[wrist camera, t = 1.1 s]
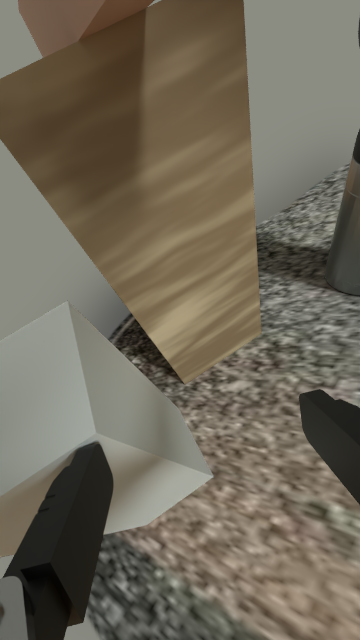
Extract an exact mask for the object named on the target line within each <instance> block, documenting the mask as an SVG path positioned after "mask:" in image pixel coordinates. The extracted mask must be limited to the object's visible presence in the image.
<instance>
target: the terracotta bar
mask: <svg viewBox="0 0 360 640" xmlns="http://www.w3.org/2000/svg"><path fill="white" fill-rule="evenodd" d="M153 1H154V0H18V4H19V12H20V14H21V16H22V17H23V19H24V21H25V23H26V25H27V27H28V29H29V31H30V33H31V35H32V37H33V39H34V41H35V43H36V45H37V47H38V49H39V50H40V52H41V54H42V56H43V58H44V57H46V56H48V55H50V54H52V53H55V52H57V51H59V50H61V49H63V48H65V47H67V46H69V45H71V44H73V43H75V42H77V41H79V40H81V39H83V38H85V37H87V36H89V35H92V34H94V33H96V32H98V31H100V30H102V29H104V28H106V27H108V26H110V25H112V24H114V23H116V22H118V21H120V20H122V19H124V18H126V17H129V16H131V15H133V14H135V13H137V12H139V11H141V10H143V9H145V8H147V7H148V6H149V5H150V4H151V3H152V2H153Z"/></svg>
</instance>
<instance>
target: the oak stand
mask: <svg viewBox="0 0 360 640" xmlns="http://www.w3.org/2000/svg"><path fill="white" fill-rule="evenodd" d="M248 95H249V94H248V76H247V58H246V39H245V21H244V2H243V0H161V1H159V2H157V3H155V4H153V5H151V6H149V7H147V8H145V9H143V10H141V11H139V12H137V13H135V14H133V15H131V16H129V17H126V18H124V19H122V20H120V21H118V22H116V23H114V24H112V25H110V26H108V27H106V28H104V29H102V30H100V31H98V32H96V33H94V34H92V35H89V36H87V37H85V38H83V39H81V40H79V41H77V42H75V43H73V44H71V45H69V46H67V47H65V48H63V49H61V50H59V51H57V52H55V53H52V54H50V55H48V56H46V57H44V58H42V59H40V60H38V61H36V62H34V63H32V64H30V65H28V66H26V67H24V68H22V69H20V70H18V71H15V72H14V73H12V74H9V75H7V76H5V77H3V78H1V79H0V139H1V140H2V142H3V143H4V144H5V146H6V147H7V148H8V150H9V151H10V152H11V154H12V155H13V156H14V158H15V159H16V160H17V162H18V163H19V164H20V166H21V167H22V168H23V170H24V171H25V172H26V174H27V175H28V176H29V178H30V179H31V180H32V182H33V183H34V184H35V185H36V187H37V188H38V189H39V191H40V192H41V194H42V195H43V196H44V198H45V199H46V200H47V202H48V203H49V204H50V205H51V207H52V208H53V210H54V211H55V212H56V213H57V215H58V216H59V218H60V219H61V220H62V222H63V223H64V224H65V226H66V227H67V228H68V229H69V231H70V232H71V233H72V235H73V236H74V237H75V239H76V240H77V241H78V243H79V244H80V245H81V247H82V248H83V249H84V251H85V252H86V253H87V255H88V256H89V257H90V259H91V260H92V261H93V263H94V264H95V265H96V267H97V268H98V269H99V271H100V272H101V273H102V274H103V276H104V277H105V279H106V280H107V281H108V283H109V284H110V285H111V287H112V288H113V289H114V290H115V292H116V293H117V295H118V296H119V297H120V299H121V300H122V301H123V302H124V304H125V305H126V306H127V308H128V309H129V311H130V312H131V313H132V315H133V316H134V317H135V319H136V320H137V321H138V323H139V324H140V325H141V327H142V328H143V329H144V331H145V332H146V333H147V335H148V336H149V337H150V339H151V340H152V341H153V342H154V344H155V345H156V346H157V348H158V349H159V350H160V352H161V353H162V354H163V356H164V357H165V358H166V360H167V361H168V362H169V364H170V365H171V366H172V368H173V369H174V370H175V372H176V373H177V374H178V376H179V377H180V378H181V380H182V381H183V382H184V384H187V383H188V382H190V381H191V380H193V379H194V378H196V377H197V376H199V375H200V374H202V373H203V372H205V371H206V370H208V369H209V368H211V367H212V366H214V365H215V364H217V363H218V362H220V361H221V360H223V359H224V358H226V357H227V356H229V355H230V354H232V353H233V352H235V351H236V350H238V349H239V348H241V347H242V346H244V345H245V344H247V343H248V342H250V341H251V340H253V339H254V338H256V337H257V336H259V335H260V334H261V316H260V298H259V279H258V261H257V242H256V224H255V205H254V187H253V171H252V170H253V169H252V150H251V132H250V115H249V114H250V113H249V96H248Z"/></svg>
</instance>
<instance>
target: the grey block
mask: <svg viewBox="0 0 360 640" xmlns="http://www.w3.org/2000/svg"><path fill="white" fill-rule="evenodd" d="M94 444H100V445H101V446H102V449H103V451H104V454H105V456H106V459H107V461H108V464H109V466H110V469H111V472H112V475H113V482H114V487H113V494H112V499H111V503H110V508H109V512H108V516H107V521H106V525H105V529H104V534H109V533H113V532H118V531H122V530H127V529H131V528H136V527H140V526H145V525H147V524H149V523H150V522H151V521H153V520H154V519H155V518H157V517H158V516H160V515H161V514H162V513H164V512H165V511H167V510H168V509H169V508H171V507H172V506H174V505H175V504H176V503H178V502H179V501H181V500H182V499H183V498H185V497H186V496H187V495H189V494H190V493H192V492H193V491H194V490H196V489H197V488H199V487H200V486H201V485H203V484H204V483H206V482H207V481H208V480H210V479H211V478H213V477H214V476H213V474H212V472H211V470H210V469H209V467H208V465H207V463H206V461H205V459H204V457H203V455H202V453H201V451H200V449H199V447H198V445H197V443H196V441H195V440H194V438H193V436H192V434H191V432H190V430H189V428H188V426H187V424H186V422H185V420H184V418H183V416H182V414H181V412H180V410H179V409H178V407H176V406H175V405H174V404H173V403H172V402H171V401H170V400H169V399H168V398H167V397H166V396H165V395H164V394H163V393H162V392H161V391H160V390H159V389H158V388H157V387H156V386H155V385H154V384H153V383H152V382H151V381H150V380H149V379H148V378H147V377H146V376H145V375H144V374H143V373H141V372H140V371H139V370H138V369H137V368H136V367H135V366H134V365H133V364H132V363H131V362H130V361H129V360H128V359H127V358H126V357H125V356H124V355H123V354H122V353H121V352H120V351H119V350H118V349H117V348H116V347H115V346H114V345H113V344H112V343H111V342H110V341H109V340H108V339H107V338H105V337H104V336H103V335H102V334H101V333H100V332H99V331H98V330H97V329H96V328H95V327H94V326H93V325H92V324H91V323H90V322H89V321H88V320H87V319H86V318H85V317H84V316H83V315H82V314H81V313H80V312H79V311H78V310H76V308H74V307H73V306H72V304H70V303H69V302H68V301H66V302H64V303H63V304H61V305H59V306H58V307H56V308H54V309H52V310H51V311H49V312H47V313H46V314H44V315H42V316H41V317H39V318H38V319H36V320H34V321H33V322H31V323H29V324H27V325H26V326H24V327H22V328H21V329H19V330H17V331H16V332H14V333H12V334H11V335H9V336H7V337H6V338H4V339H2V340H1V341H0V557H4V556H9V555H14V554H15V553H16V551H17V549H18V547H19V545H20V544H21V542H22V540H23V538H24V536H25V534H26V532H27V530H28V528H29V526H30V524H31V522H32V520H33V519H34V517H35V515H36V514H37V513H38V509H39V507H40V505H41V503H42V501H43V500H45V495H46V493H47V492H48V490H49V488H50V486H51V484H52V482H53V480H54V479H55V478H56V477H57V476H58V475H59V473H60V472H61V471H62V470H63V469H64V467H67V466H70V464H71V461H72V459H73V457H74V455H75V453H76V451H77V450H78V449H79V448H82V447H86V446H90V445H94ZM104 534H103V535H104Z"/></svg>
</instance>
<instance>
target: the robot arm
mask: <svg viewBox="0 0 360 640" xmlns="http://www.w3.org/2000/svg"><path fill="white" fill-rule="evenodd" d="M358 32H359V33H358V34H359V46H360V20H359V31H358ZM325 278H326V280H327V282H328V283H329V284H330V285H331V286H332V287H334V288H335V289H337V290H339V291H342V292H344V293H348V294H353V295H360V130H359V132H358V135H357V138H356V143H355V147H354V151H353V156H352V160H351V164H350V168H349V172H348V176H347V180H346V185H345V189H344V194H343V198H342V202H341V206H340V210H339V214H338V218H337V223H336V227H335V231H334V235H333V239H332V243H331V247H330V251H329V255H328V259H327V263H326V268H325ZM299 402H300V411H301V419H302V427H303V431H304V433H305V436H306V438H307V440H308V441H309V443H310V444H311V445H312V447H313V448H314V449H315V450H316V452H317V453H318V454H319V455H320V456H321V458H322V459H323V460H324V461H325V463H326V464H327V465H328V466H329V468H330V469H331V470H332V471H333V472H334V474H335V475H336V476H337V477H338V479H339V480H340V481H341V482H342V484H343V485H344V486H345V487H346V488H347V490H348V491H349V492H350V493H351V495H352V496H353V497H354V498H355V500H356V501H357V502H358V503H359V504H360V408H359V407H357V406H355V405H353V404H350V403H348V402H346V401H343V400H341V399H339V400H334V399H333V398H332V397H331V396H329V395H328V394H327V393H325V392H324V391H323V390H320V389H318V390H314V391H310V392H306V393H302V394H300V396H299ZM113 487H114V482H113V475H112V472H111V469H110V466H109V464H108V461H107V459H106V456H105V454H104V451H103V449H102V446H101V445H100V444H94V445H90V446H86V447H82V448H79V449H78V450H77V451H76V453H75V455H74V457H73V459H72V461H71V464H70V466H67V467H64V469H63V470H62V471H61V472H60V473H59V475H58V476H57V477H56V478H55V479H54V480H53V482H52V484H51V486H50V488H49V490H48V492H47V493H46V495H45V500H43V501H42V503H41V505H40V507H39V509H38V513H37V514H36V515H35V517H34V519H33V520H32V522H31V524H30V526H29V528H28V530H27V532H26V534H25V536H24V538H23V540H22V542H21V544H20V545H19V547H18V549H17V551H16V553H15V555H14V557H13V559H12V561H11V563H10V565H9V567H8V569H7V571H6V573H5V574H4V576H3V578H2V579H0V640H64V636H65V632H66V629H67V627H68V626H72V625H76V624H80V623H83V621H84V617H85V613H86V608H87V604H88V600H89V595H90V591H91V586H92V582H93V578H94V573H95V569H96V564H97V560H98V556H99V551H100V547H101V543H102V538H103V534H104V529H105V525H106V521H107V516H108V512H109V508H110V503H111V499H112V494H113Z"/></svg>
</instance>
